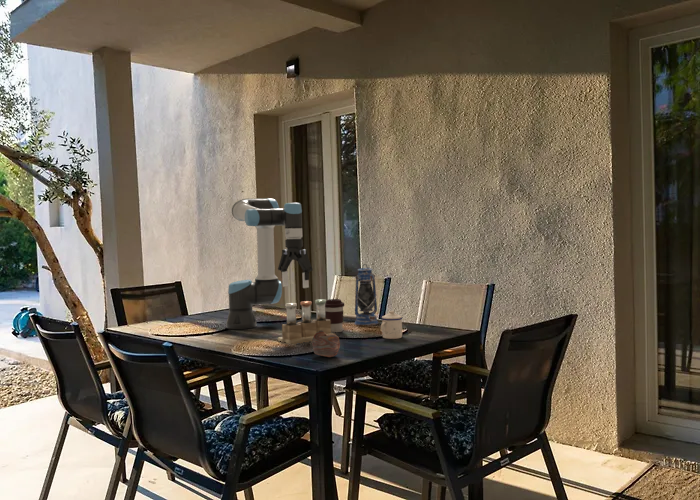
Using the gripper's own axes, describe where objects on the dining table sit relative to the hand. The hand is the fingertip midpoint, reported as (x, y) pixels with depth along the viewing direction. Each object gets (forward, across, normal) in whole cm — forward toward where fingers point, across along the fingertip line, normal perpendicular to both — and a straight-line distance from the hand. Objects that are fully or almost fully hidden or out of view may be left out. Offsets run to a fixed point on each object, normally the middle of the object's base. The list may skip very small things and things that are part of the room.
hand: (295, 287), depth 263 cm
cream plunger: (+17, 0, -3) cm, 17 cm away
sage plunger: (+17, +2, +13) cm, 22 cm away
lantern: (+24, -6, +51) cm, 57 cm away
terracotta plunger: (+17, +1, +5) cm, 18 cm away
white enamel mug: (+24, +29, +29) cm, 47 cm away
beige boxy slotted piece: (+24, +1, +5) cm, 24 cm away
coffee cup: (+24, -3, +26) cm, 35 cm away
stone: (+24, +34, -13) cm, 43 cm away
